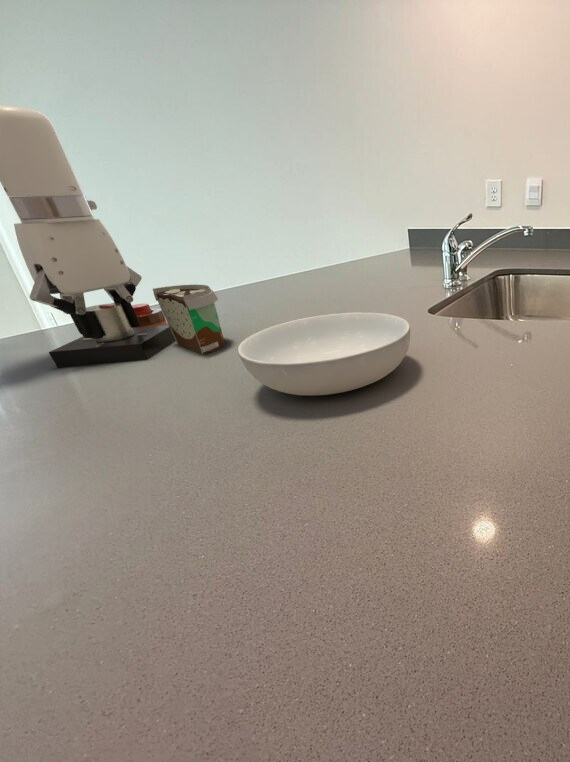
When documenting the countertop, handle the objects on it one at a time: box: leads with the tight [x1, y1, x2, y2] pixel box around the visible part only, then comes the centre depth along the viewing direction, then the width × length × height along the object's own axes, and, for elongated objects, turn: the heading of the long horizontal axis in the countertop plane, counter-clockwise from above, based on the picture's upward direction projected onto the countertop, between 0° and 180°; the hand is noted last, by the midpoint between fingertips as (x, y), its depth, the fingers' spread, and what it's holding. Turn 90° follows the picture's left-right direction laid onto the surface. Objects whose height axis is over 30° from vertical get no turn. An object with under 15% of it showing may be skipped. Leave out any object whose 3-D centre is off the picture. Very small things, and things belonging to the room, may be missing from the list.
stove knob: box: [86, 302, 134, 342], centre depth 65 cm, size 5×5×5 cm
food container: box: [152, 284, 226, 356], centre depth 68 cm, size 12×6×10 cm, turn 58°
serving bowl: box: [237, 312, 411, 396], centre depth 55 cm, size 21×21×7 cm
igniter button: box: [131, 303, 152, 315], centre depth 76 cm, size 3×3×2 cm
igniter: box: [132, 307, 168, 328], centre depth 77 cm, size 10×8×4 cm
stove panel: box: [48, 325, 176, 369], centre depth 67 cm, size 12×10×3 cm
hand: (112, 330), depth 66 cm, fingers closed on stove knob, 4 cm apart
